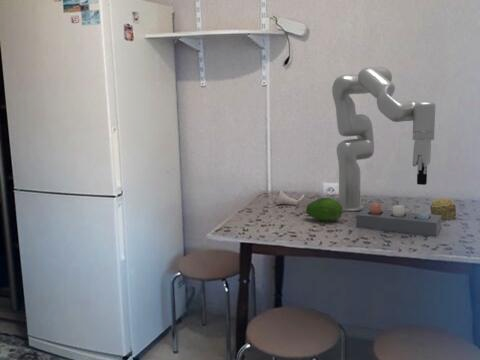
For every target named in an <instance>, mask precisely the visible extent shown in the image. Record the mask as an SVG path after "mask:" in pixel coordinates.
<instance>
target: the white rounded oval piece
mask: <svg viewBox="0 0 480 360" xmlns="http://www.w3.org/2000/svg"><path fill="white" fill-rule="evenodd" d="M405 209H406V208H405V205H399V204H395V205H393V206H392V211H393V216H394V217H404V213H405V212H406V210H405Z"/></svg>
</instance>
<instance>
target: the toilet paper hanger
mask: <svg viewBox="0 0 480 360" xmlns="http://www.w3.org/2000/svg"><path fill="white" fill-rule="evenodd" d="M305 196H306V194H305V193H303V194H302V196H301V197H300V198H298V199H295V198H293V197H290V196H288V195H287V194H285V193H284V191H283V190H282V189H281V190H280V192H279V194H278V197H277V201H276V206H279V205H282V204H283V205H284V204H286V205H287V204H289V205H292V206H293V205H294V206H296V205H297V206H298V205H301V201H302V200H304V198H305ZM303 197H304V198H303Z"/></svg>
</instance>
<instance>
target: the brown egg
mask: <svg viewBox="0 0 480 360" xmlns="http://www.w3.org/2000/svg"><path fill="white" fill-rule="evenodd" d="M369 209H370V214H374V215H381V210H382V204H381V203H378V202H374V203H373V202H371V203H369Z"/></svg>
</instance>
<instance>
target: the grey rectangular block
mask: <svg viewBox="0 0 480 360" xmlns="http://www.w3.org/2000/svg"><path fill="white" fill-rule="evenodd" d="M417 213H418V212H411V211H405V213H404V217H394V216H393V210H388V209H387V210H386V209H381V215H374V214H370V208H365V207H364V209H363V210H360V211H358V213H356V214H355V227H356V228H360V229H369V230H376V231H378V230H379V231H386V232H394V233H396V232H397V233H403V234H404V233H406V234H413V235H421V236H431V237H437V236H438V235H439V233H440V231H441V230H442V226H443V225H442V224H443V220H442V215H433V214H431V213H428V214H429V220H425V219H416V218H417Z"/></svg>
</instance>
